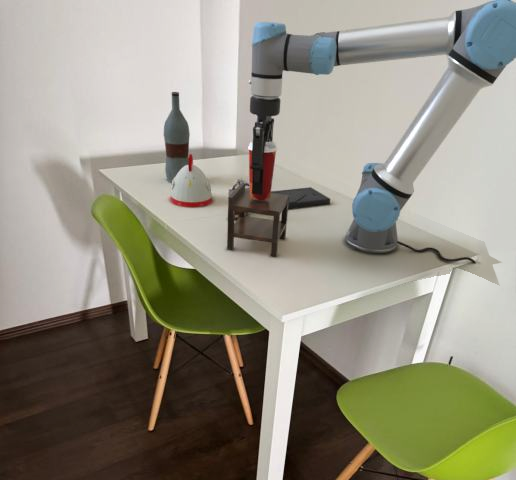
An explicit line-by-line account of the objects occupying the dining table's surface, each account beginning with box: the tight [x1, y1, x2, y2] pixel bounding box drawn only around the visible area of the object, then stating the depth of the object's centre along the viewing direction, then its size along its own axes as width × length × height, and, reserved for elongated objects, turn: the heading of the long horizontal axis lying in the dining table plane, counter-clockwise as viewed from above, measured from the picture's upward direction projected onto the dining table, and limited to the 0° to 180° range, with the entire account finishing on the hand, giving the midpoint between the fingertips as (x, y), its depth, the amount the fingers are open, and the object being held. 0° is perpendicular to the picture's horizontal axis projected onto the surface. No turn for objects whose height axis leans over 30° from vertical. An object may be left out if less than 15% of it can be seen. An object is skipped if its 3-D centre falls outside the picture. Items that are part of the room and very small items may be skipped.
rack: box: [226, 182, 289, 258], centre depth 142 cm, size 14×14×15 cm
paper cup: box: [247, 140, 278, 200], centre depth 135 cm, size 8×8×14 cm
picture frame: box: [271, 186, 331, 210], centre depth 179 cm, size 13×2×18 cm
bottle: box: [163, 91, 191, 184], centre depth 183 cm, size 9×9×30 cm
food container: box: [227, 178, 250, 221], centre depth 161 cm, size 12×6×10 cm, turn 168°
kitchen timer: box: [170, 153, 213, 208], centre depth 170 cm, size 14×14×15 cm
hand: (260, 189), depth 138 cm, fingers closed on paper cup, 7 cm apart
